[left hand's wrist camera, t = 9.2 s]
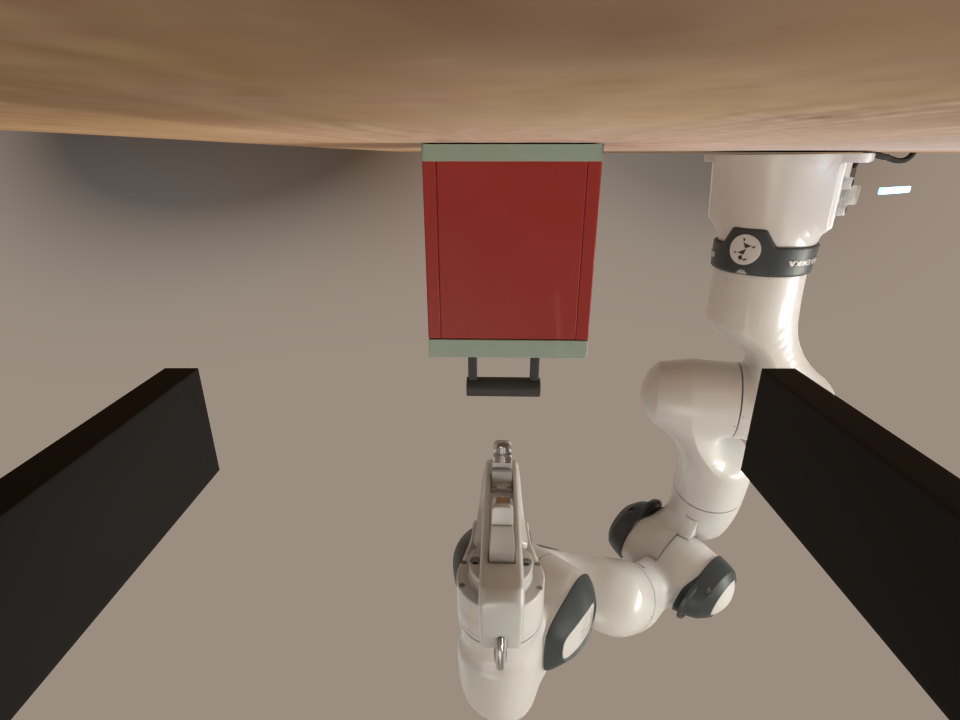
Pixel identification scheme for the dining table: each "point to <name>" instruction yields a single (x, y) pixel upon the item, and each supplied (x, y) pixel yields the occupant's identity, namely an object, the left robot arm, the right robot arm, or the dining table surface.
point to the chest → (510, 239)
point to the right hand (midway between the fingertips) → (502, 469)
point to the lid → (506, 349)
